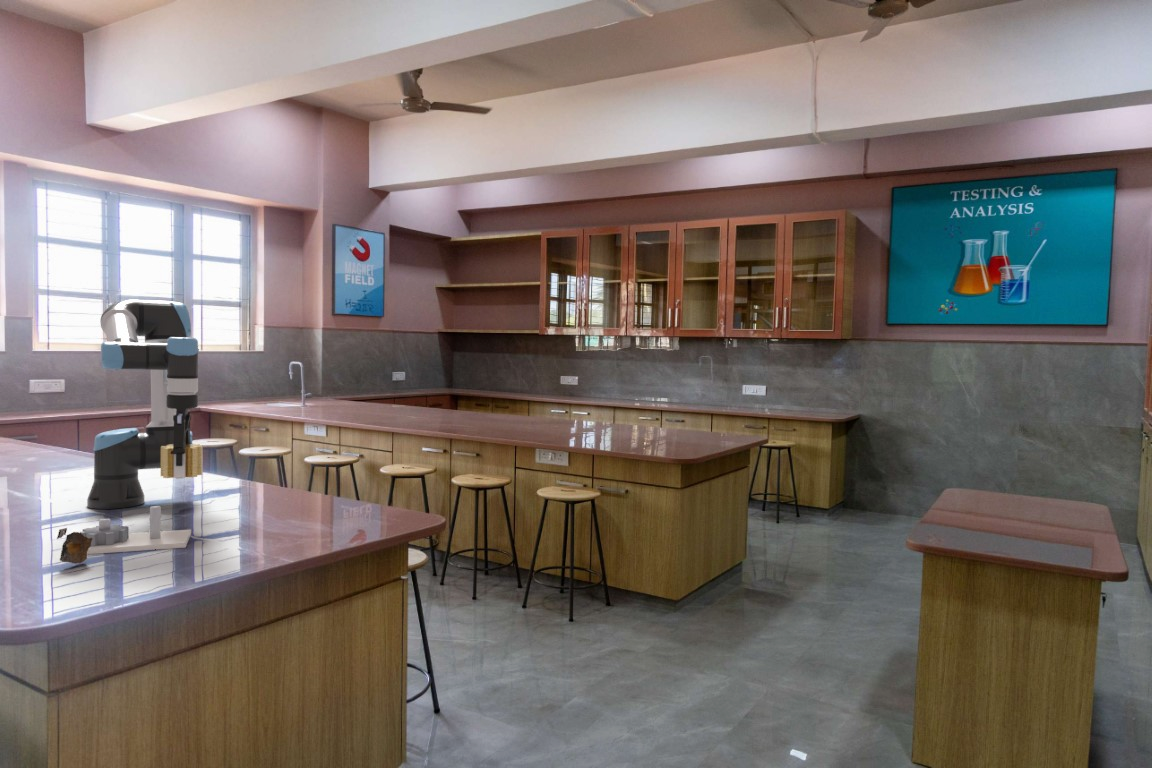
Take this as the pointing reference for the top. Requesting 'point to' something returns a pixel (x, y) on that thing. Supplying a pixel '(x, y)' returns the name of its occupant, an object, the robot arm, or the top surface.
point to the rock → (74, 547)
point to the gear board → (134, 536)
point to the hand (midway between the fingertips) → (181, 474)
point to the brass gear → (191, 460)
